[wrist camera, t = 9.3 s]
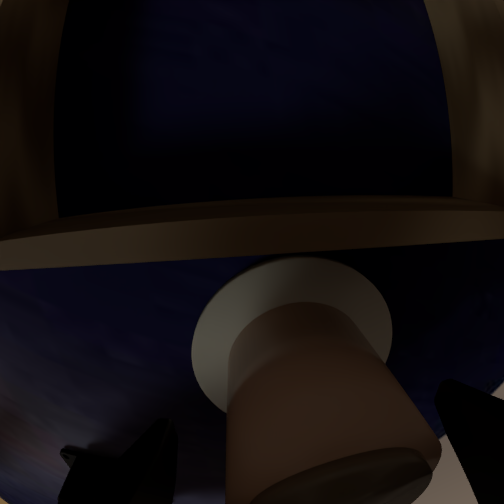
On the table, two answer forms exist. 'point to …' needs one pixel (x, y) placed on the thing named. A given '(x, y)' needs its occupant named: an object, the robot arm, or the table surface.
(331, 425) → the clay pot
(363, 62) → the table surface
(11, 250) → the open wooden box frame
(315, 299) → the cream round disc
